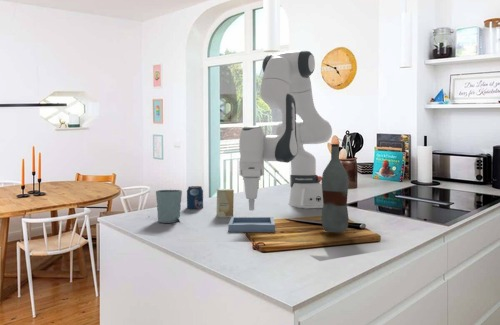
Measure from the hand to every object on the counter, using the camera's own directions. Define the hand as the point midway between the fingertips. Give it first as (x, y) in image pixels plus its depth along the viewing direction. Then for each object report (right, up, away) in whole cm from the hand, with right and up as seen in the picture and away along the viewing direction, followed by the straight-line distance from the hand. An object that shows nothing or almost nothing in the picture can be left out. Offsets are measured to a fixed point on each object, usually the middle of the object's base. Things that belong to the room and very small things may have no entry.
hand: (251, 208), depth 156 cm
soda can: (-24, -6, +32) cm, 41 cm away
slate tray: (0, -7, 0) cm, 7 cm away
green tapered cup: (-33, -7, +16) cm, 37 cm away
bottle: (+29, -7, -5) cm, 30 cm away
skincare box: (-11, -6, +18) cm, 22 cm away
